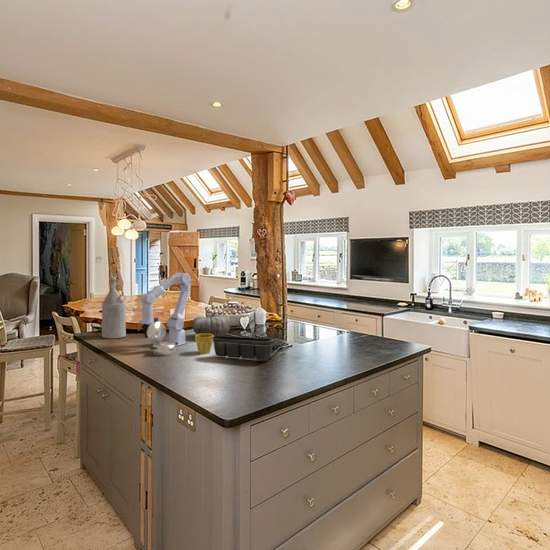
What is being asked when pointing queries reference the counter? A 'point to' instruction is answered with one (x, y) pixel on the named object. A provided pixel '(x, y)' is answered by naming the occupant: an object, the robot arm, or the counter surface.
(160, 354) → the cooker pot
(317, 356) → the counter surface
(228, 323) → the gourd
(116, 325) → the grey bottle
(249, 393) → the counter surface
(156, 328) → the cooker lid
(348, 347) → the counter surface
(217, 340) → the dish rack
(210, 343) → the plant pot
